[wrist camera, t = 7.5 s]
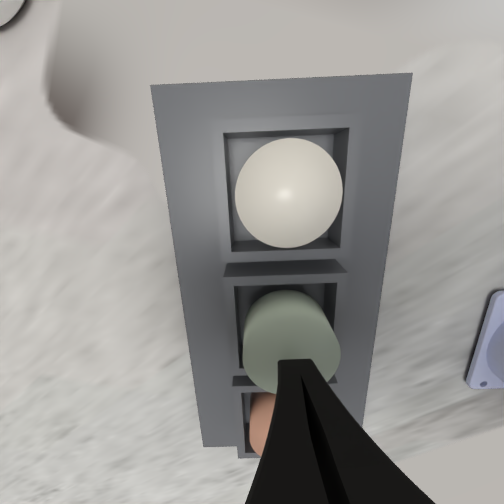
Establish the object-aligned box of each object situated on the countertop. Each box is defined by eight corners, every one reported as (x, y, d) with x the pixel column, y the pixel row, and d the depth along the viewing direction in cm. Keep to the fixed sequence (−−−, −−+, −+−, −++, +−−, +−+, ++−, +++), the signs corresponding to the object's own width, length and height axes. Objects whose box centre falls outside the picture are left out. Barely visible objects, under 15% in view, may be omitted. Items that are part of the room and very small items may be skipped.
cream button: (328, 142, 12) (346, 135, 9) (323, 232, 13) (338, 246, 11) (235, 146, 12) (231, 140, 9) (240, 236, 13) (238, 249, 11)
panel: (394, 83, 13) (445, 52, 9) (352, 423, 20) (372, 473, 17) (161, 94, 13) (129, 67, 9) (206, 427, 20) (198, 478, 17)
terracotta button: (315, 375, 16) (326, 409, 14) (312, 424, 17) (322, 462, 15) (248, 377, 16) (247, 411, 14) (251, 425, 17) (251, 464, 15)
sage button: (327, 288, 13) (344, 314, 10) (323, 357, 14) (337, 394, 12) (242, 291, 13) (239, 318, 10) (246, 360, 14) (244, 396, 12)
